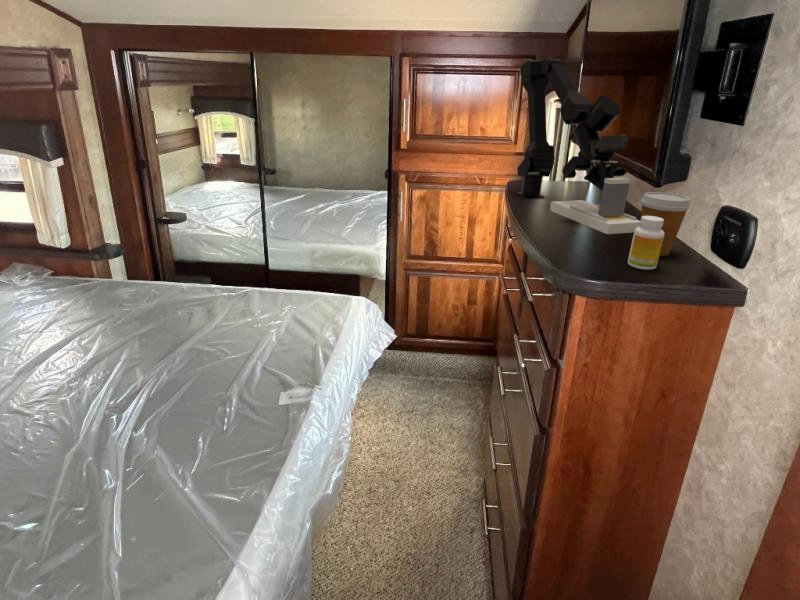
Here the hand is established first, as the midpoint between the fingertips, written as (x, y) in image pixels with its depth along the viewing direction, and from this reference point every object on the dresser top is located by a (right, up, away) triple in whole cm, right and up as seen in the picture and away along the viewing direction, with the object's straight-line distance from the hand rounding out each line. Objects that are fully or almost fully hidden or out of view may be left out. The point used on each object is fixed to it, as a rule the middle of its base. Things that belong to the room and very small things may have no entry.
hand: (610, 194), depth 129 cm
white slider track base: (-2, -5, +7) cm, 9 cm away
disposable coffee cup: (+3, -16, -16) cm, 22 cm away
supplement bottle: (-4, -19, -25) cm, 32 cm away
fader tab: (0, -5, +1) cm, 5 cm away
